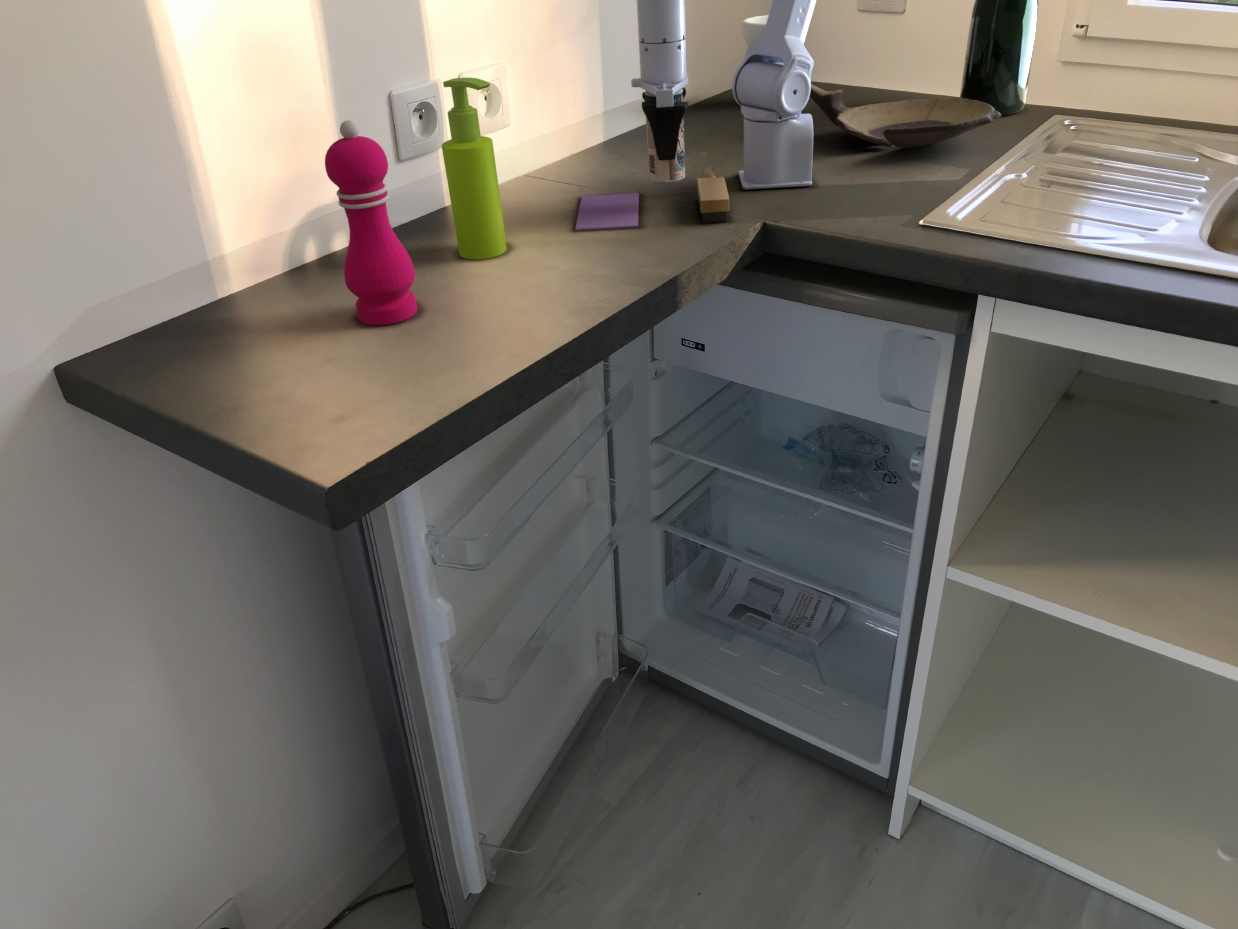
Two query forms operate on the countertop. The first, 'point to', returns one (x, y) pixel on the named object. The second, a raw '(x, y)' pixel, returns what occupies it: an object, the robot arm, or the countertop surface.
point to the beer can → (665, 168)
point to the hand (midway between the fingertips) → (666, 153)
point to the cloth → (608, 212)
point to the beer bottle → (1000, 53)
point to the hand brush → (712, 196)
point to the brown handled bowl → (905, 118)
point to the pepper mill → (370, 231)
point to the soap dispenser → (472, 178)
